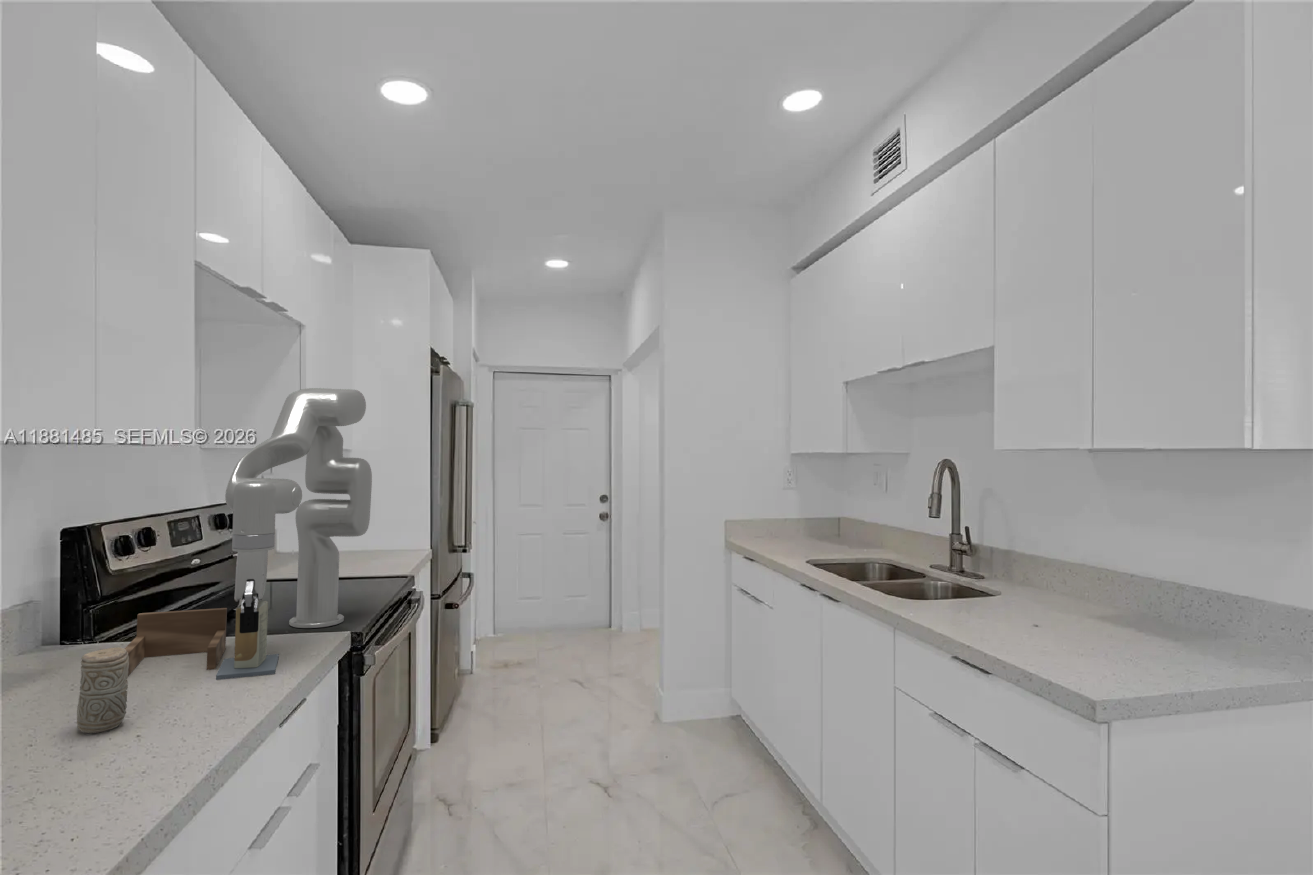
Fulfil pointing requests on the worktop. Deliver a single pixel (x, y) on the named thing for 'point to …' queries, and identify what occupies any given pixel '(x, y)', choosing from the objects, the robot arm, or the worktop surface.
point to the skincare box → (251, 640)
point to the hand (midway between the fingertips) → (251, 626)
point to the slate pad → (263, 669)
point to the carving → (103, 690)
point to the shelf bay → (179, 635)
